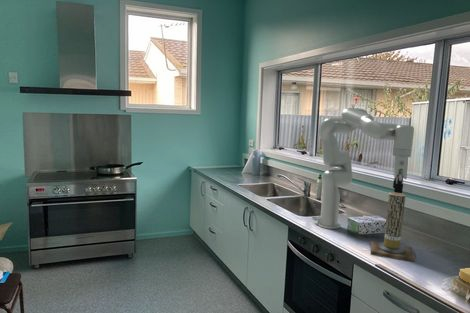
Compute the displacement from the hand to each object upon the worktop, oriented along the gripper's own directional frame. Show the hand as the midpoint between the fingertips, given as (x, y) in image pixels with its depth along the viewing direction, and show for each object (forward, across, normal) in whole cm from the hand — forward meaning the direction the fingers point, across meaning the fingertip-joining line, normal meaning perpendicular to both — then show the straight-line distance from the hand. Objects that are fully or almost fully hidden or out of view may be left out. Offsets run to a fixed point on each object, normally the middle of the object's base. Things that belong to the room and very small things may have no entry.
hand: (397, 190), depth 163 cm
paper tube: (+26, 0, 0) cm, 27 cm away
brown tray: (+29, 0, 0) cm, 29 cm away
